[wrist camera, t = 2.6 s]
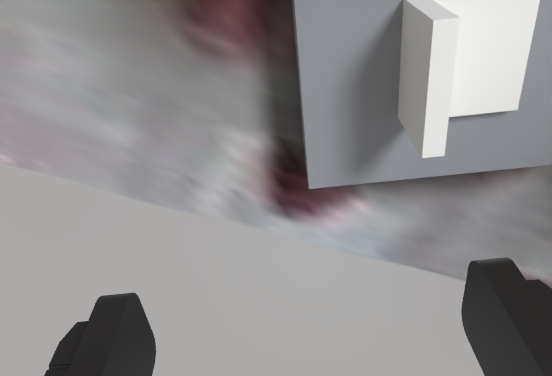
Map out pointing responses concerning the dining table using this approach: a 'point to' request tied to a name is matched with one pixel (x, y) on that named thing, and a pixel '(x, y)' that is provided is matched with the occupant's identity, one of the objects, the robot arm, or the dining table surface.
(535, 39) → the socket
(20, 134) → the dining table surface
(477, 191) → the dining table surface
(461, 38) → the white l-shaped bracket
